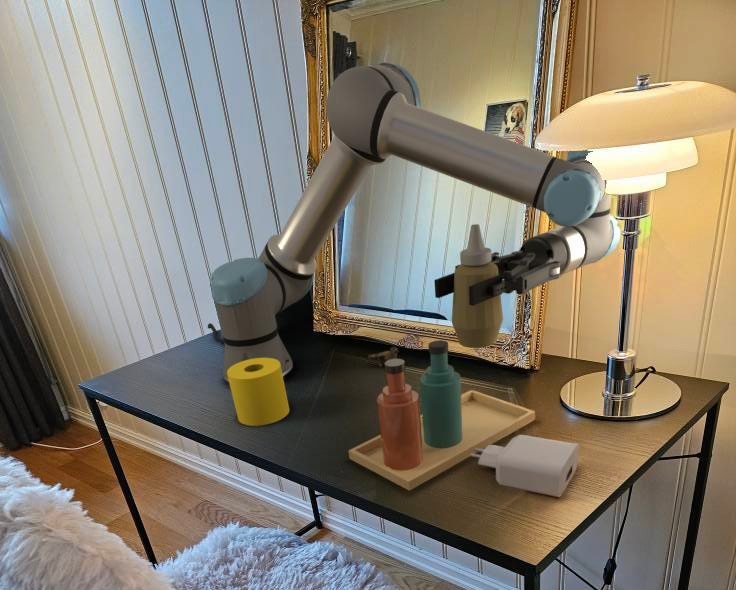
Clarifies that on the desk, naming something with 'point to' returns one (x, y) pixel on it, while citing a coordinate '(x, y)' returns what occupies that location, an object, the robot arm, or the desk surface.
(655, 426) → the desk surface
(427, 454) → the tray
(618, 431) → the desk surface
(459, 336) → the squeeze bottle
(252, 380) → the yellow toilet paper roll
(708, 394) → the desk surface
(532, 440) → the charger
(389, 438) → the terracotta bottle
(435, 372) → the teal bottle
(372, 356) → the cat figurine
